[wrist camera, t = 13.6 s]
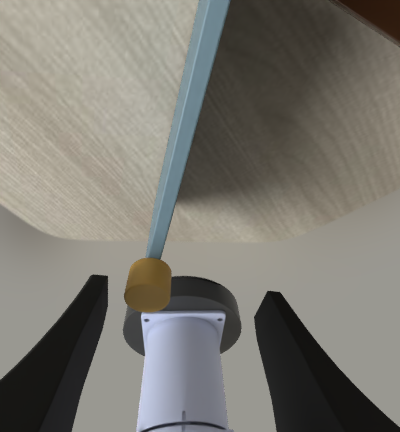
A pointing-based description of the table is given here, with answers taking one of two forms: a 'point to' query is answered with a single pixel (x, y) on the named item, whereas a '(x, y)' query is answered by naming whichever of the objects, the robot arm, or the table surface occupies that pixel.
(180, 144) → the blue cabinet door
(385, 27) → the cabinet
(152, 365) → the robot arm
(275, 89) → the table surface
